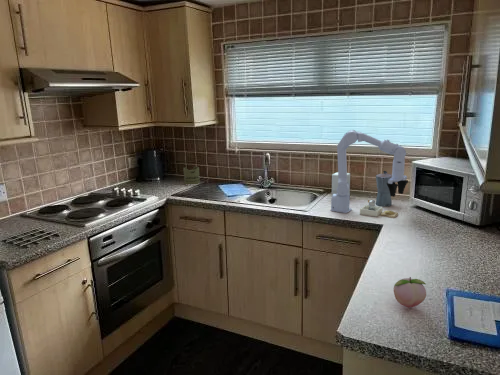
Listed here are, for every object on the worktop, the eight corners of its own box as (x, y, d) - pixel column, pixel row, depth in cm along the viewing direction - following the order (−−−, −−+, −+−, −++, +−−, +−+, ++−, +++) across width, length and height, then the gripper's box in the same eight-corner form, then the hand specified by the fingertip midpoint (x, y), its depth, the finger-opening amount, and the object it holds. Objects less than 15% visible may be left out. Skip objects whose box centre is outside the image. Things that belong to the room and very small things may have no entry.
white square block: (350, 196, 241) (350, 173, 237) (345, 199, 234) (346, 175, 230) (336, 194, 246) (336, 171, 242) (331, 198, 238) (331, 174, 235)
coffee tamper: (373, 214, 204) (373, 202, 202) (365, 212, 207) (366, 200, 205) (377, 212, 207) (377, 200, 205) (370, 210, 210) (370, 199, 208)
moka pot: (373, 207, 217) (375, 172, 212) (375, 200, 231) (377, 167, 226) (391, 208, 214) (393, 173, 209) (392, 201, 228) (394, 168, 223)
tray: (359, 214, 206) (360, 208, 205) (365, 209, 213) (366, 204, 212) (376, 217, 201) (376, 211, 200) (382, 212, 208) (382, 207, 207)
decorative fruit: (413, 298, 122) (416, 269, 120) (429, 312, 115) (432, 281, 112) (386, 301, 121) (388, 272, 119) (400, 315, 113) (402, 284, 111)
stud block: (380, 215, 202) (380, 212, 202) (384, 212, 208) (384, 209, 208) (394, 218, 198) (394, 214, 198) (398, 214, 204) (398, 211, 203)
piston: (182, 167, 288) (197, 166, 292) (183, 183, 291) (198, 181, 295) (184, 170, 278) (200, 168, 281) (185, 186, 281) (201, 184, 284)
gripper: (397, 172, 192) (395, 198, 195) (413, 168, 201) (411, 193, 204) (385, 170, 197) (383, 196, 201) (400, 166, 206) (398, 191, 209)
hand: (396, 194), depth 203 cm, fingers open, 7 cm apart
